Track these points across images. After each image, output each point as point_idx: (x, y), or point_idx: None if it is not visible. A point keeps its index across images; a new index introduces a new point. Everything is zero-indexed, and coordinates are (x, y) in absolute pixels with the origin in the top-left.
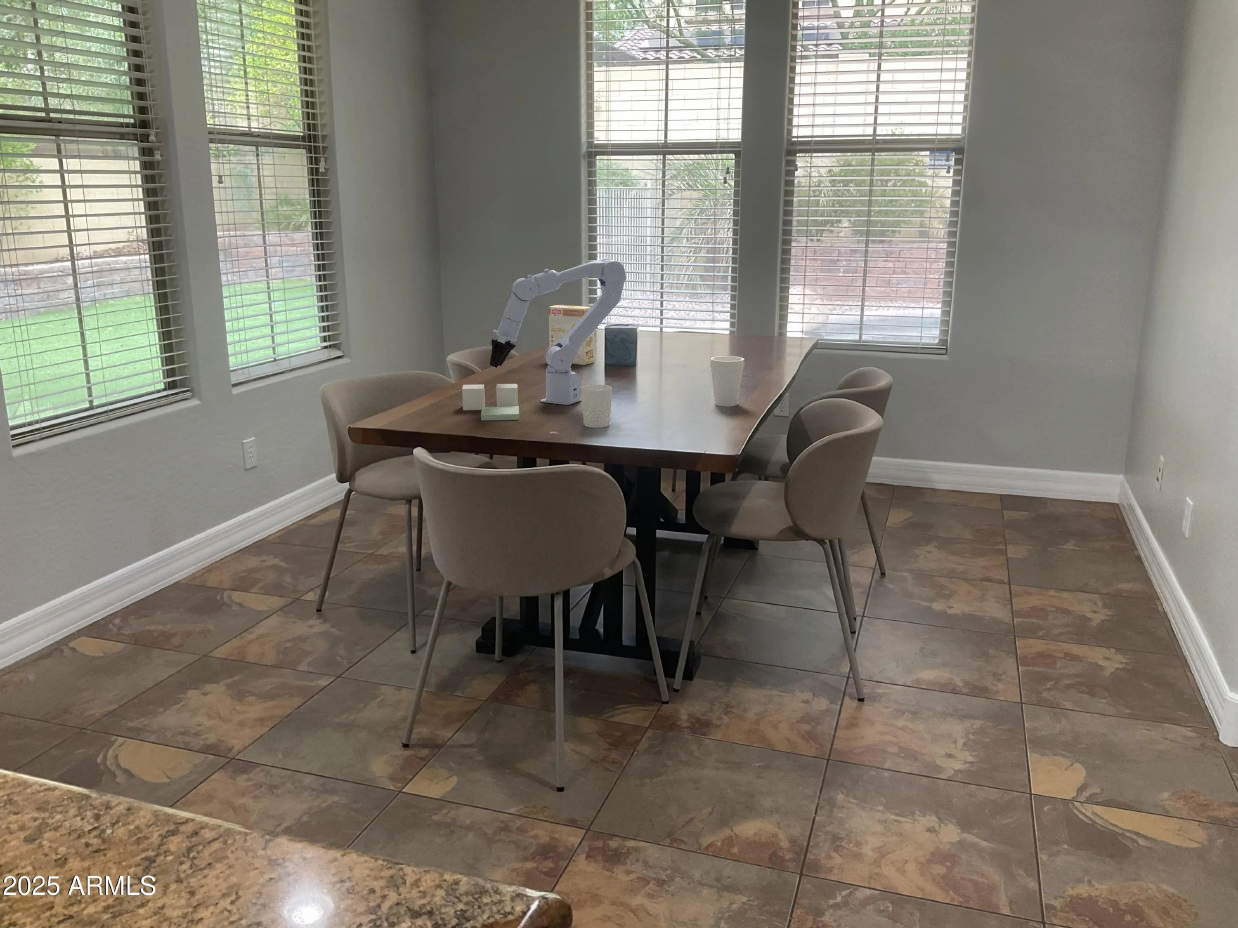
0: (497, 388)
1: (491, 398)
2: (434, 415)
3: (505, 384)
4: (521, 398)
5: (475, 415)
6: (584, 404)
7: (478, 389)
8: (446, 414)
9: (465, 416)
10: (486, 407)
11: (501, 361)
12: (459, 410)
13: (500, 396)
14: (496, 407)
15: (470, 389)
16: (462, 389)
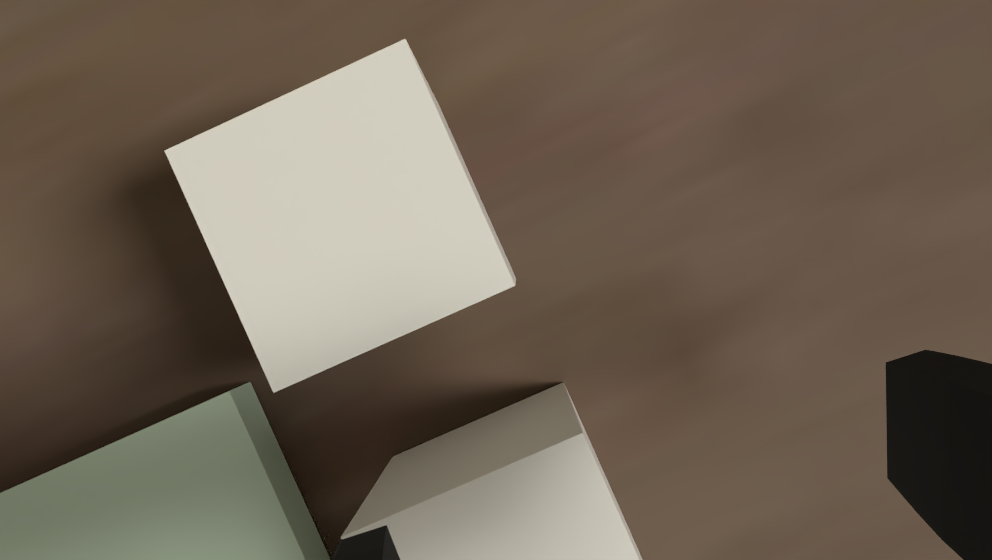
0: None
1: (832, 197)
2: (9, 42)
3: (606, 546)
4: None
5: (125, 377)
6: None
7: (252, 334)
8: (77, 122)
9: (63, 313)
10: (218, 441)
11: (972, 528)
12: None
13: None
14: (248, 530)
15: (212, 244)
16: (167, 155)
